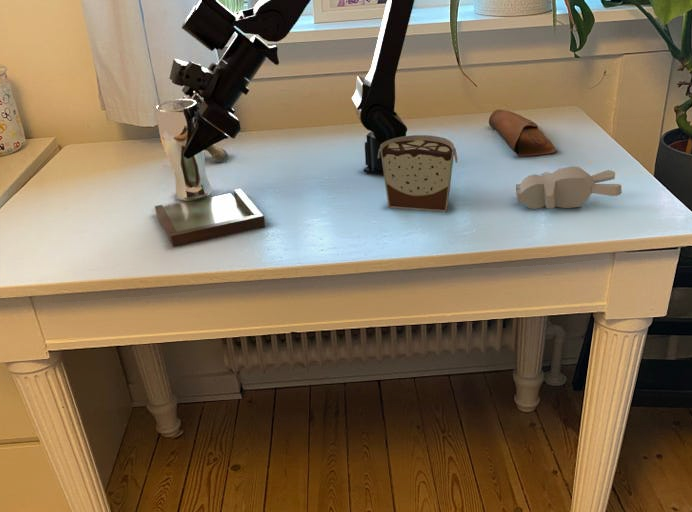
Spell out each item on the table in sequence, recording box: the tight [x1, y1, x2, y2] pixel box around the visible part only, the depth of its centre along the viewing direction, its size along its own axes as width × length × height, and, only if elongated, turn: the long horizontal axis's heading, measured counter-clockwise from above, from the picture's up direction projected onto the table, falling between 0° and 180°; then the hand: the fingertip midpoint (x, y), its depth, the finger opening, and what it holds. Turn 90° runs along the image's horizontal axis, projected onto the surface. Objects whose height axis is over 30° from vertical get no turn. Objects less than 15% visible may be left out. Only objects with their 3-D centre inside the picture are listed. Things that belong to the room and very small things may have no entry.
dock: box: [154, 188, 266, 248], centre depth 120 cm, size 16×14×2 cm
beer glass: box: [155, 98, 213, 201], centre depth 124 cm, size 7×7×15 cm
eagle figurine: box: [205, 143, 229, 163], centre depth 143 cm, size 8×7×9 cm
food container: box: [378, 134, 458, 213], centre depth 117 cm, size 12×6×10 cm, turn 71°
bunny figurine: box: [515, 166, 623, 210], centre depth 115 cm, size 10×5×15 cm
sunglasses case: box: [488, 109, 557, 158], centre depth 141 cm, size 18×7×7 cm
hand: (181, 150), depth 124 cm, fingers closed on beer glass, 7 cm apart
